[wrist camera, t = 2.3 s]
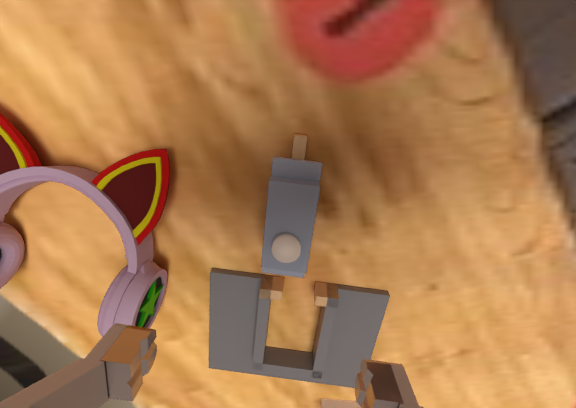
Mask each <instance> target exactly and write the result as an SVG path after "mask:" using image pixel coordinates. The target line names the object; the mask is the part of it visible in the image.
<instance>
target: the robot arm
mask: <svg viewBox="0 0 576 408" xmlns="http://www.w3.org/2000/svg"><path fill="white" fill-rule="evenodd" d="M155 338H156V330H154V329H149V328H143V327H137V326H132V325H125V324H119V323H116V324H114V325H113V326H111V328H110V329H109V330H108V331H107V332H106V334H105V335H104V336H103V337H102V338H101V340H100V341H99V342H98V343H97V345H96V346H95V347H94V348H93V349H92V351H91V352H90V353H89V354H88V355H87V357H86V358H85V359H83V358H80V359H78V360H77V361H75V362H73V363H71V364H69V365H67V366H66V367H64V368H62V369H60V370H58V371H56V372H55V373H53V374H51V375H49V376H47V377H45V378H44V379H42V380H40V381H38V382H36V383H34V384H33V385H31V386H29V387H27V388H25V389H23V390H22V391H20V392H18V393H17V394H14V395H13V396H11V397H9V398H7V399H5V400H3V401H2V402H0V408H99V407H101V406H102V405H103V404H104V403H106V402H107V401H108V399H117V400H126V401H133V400H134V398H135V396H136V395H137V393H138V391H139V389H140V387H141V386H142V384H143V379H142V377H143V376H144V375H145V374H147V373H148V372H149V371H150V369H151V367H152V365H153V362H154V360H155V357H156V351H157V345H156V344H155V343H154V340H155ZM360 369H361V372H360V373H358V374H357V377H356V380H355V396H356V402H357V403H358V404H359V405H360V407H361V408H424V407H421V406H419V405H418V402H417V400H416V397H415V395H414V392H413V390H412V387H411V384H410V382H409V379H408V377H407V374H406V372H405V369H404V367H403V366H402V364H395V363H388V362H382V361H374V360H366V359H363V360H362V361H361V364H360Z"/></svg>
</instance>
